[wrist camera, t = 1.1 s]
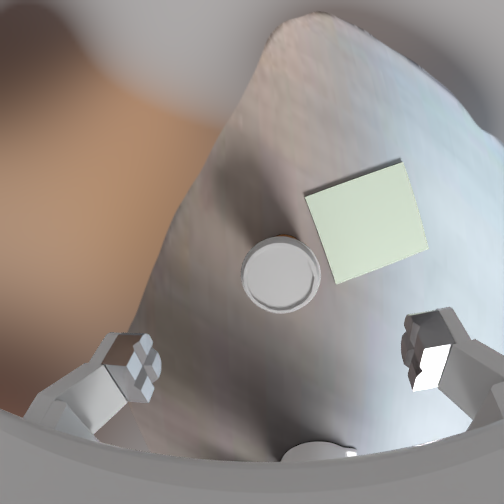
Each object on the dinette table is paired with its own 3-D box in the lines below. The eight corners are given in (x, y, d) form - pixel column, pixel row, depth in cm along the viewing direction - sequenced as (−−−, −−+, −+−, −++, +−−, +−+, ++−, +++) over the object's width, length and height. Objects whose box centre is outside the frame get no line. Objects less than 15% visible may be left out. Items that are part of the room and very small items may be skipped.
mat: (427, 248, 45) (428, 248, 44) (335, 283, 48) (336, 284, 47) (401, 162, 43) (403, 162, 42) (304, 197, 46) (304, 197, 45)
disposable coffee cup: (308, 289, 49) (311, 323, 37) (247, 278, 50) (234, 308, 38) (320, 229, 47) (329, 246, 35) (257, 218, 47) (245, 231, 36)
